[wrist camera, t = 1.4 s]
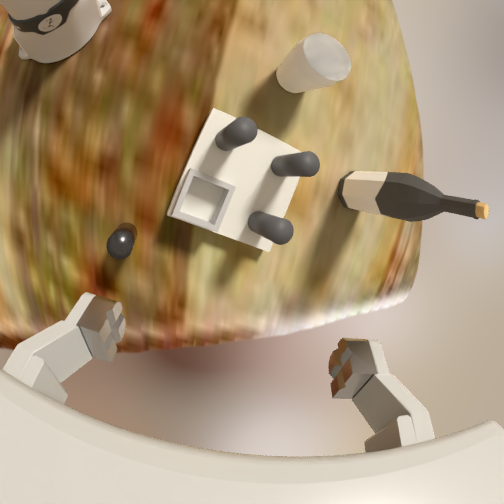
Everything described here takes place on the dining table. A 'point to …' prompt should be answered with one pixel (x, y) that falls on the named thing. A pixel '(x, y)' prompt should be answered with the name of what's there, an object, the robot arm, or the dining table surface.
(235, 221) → the white board with pegs
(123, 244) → the dark rounded cylinder
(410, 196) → the wine bottle
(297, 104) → the dining table surface
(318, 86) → the cup
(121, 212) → the dining table surface
